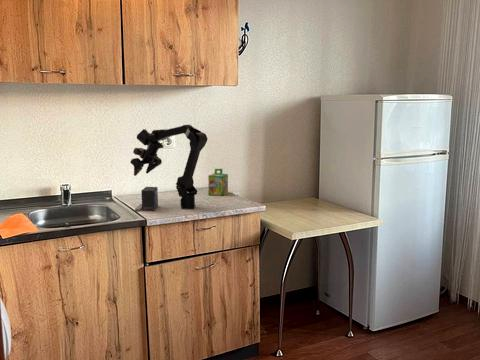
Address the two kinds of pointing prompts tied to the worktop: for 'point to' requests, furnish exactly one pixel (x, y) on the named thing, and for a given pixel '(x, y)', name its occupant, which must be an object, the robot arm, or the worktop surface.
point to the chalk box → (218, 183)
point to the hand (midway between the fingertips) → (140, 174)
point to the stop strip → (139, 208)
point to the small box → (149, 198)
